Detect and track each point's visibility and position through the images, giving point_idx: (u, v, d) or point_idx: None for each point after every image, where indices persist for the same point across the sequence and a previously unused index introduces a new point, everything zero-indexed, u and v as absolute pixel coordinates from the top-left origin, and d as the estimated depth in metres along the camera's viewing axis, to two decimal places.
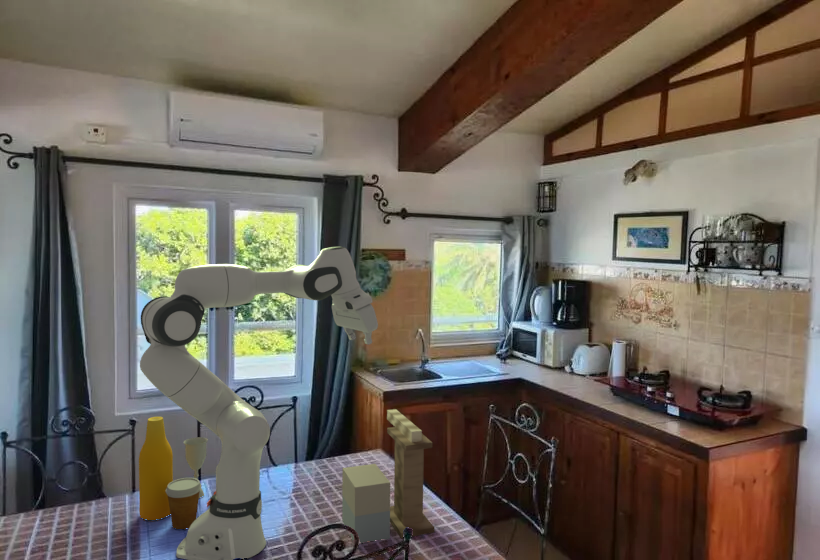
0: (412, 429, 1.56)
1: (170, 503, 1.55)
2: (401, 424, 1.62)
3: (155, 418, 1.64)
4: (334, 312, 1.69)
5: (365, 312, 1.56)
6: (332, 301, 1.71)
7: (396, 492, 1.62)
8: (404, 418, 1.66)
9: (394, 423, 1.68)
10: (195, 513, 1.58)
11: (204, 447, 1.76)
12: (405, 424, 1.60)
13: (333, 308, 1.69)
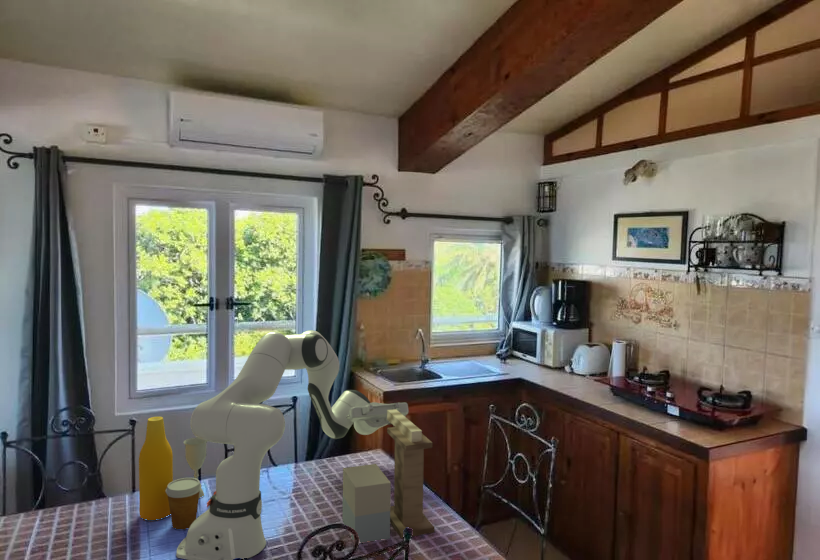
0: (412, 429, 1.56)
1: (170, 503, 1.55)
2: (401, 424, 1.62)
3: (155, 418, 1.64)
4: None
5: None
6: (347, 416, 1.89)
7: (396, 492, 1.62)
8: (404, 418, 1.66)
9: (394, 423, 1.68)
10: (195, 513, 1.58)
11: (204, 447, 1.76)
12: (405, 424, 1.60)
13: None
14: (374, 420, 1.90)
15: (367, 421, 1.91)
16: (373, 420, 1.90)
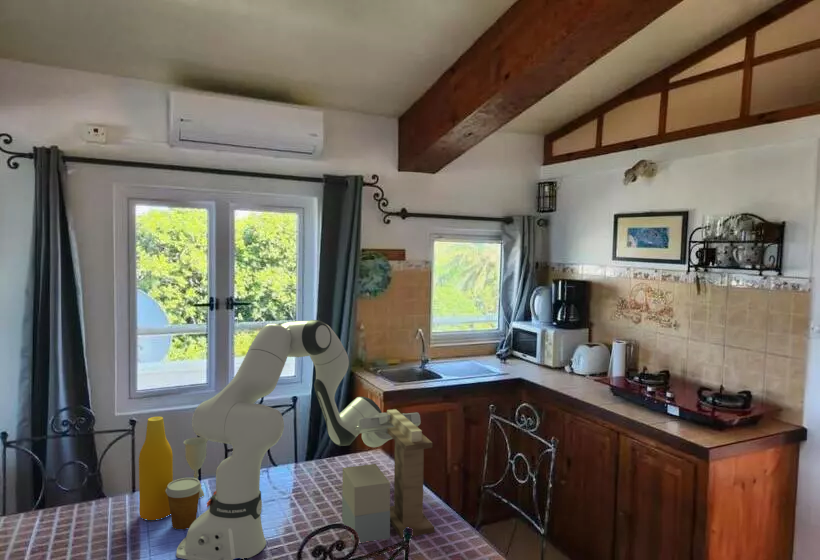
0: (412, 429, 1.56)
1: (170, 503, 1.55)
2: (401, 424, 1.62)
3: (155, 418, 1.64)
4: None
5: None
6: None
7: (396, 492, 1.62)
8: (404, 418, 1.66)
9: (394, 423, 1.68)
10: (195, 513, 1.58)
11: (204, 447, 1.76)
12: (405, 424, 1.60)
13: None
14: (384, 431, 1.79)
15: (377, 433, 1.79)
16: (383, 431, 1.78)
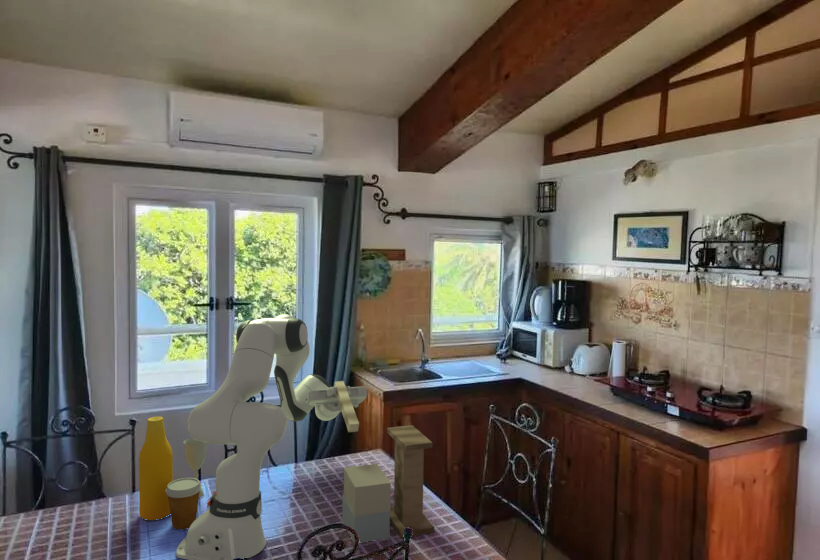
0: (351, 419, 1.69)
1: (170, 503, 1.55)
2: (343, 408, 1.74)
3: (155, 418, 1.64)
4: None
5: None
6: None
7: (396, 492, 1.62)
8: (347, 399, 1.78)
9: (338, 399, 1.80)
10: (195, 513, 1.58)
11: (204, 447, 1.76)
12: (346, 410, 1.73)
13: None
14: (332, 404, 1.90)
15: (326, 405, 1.91)
16: (331, 404, 1.90)
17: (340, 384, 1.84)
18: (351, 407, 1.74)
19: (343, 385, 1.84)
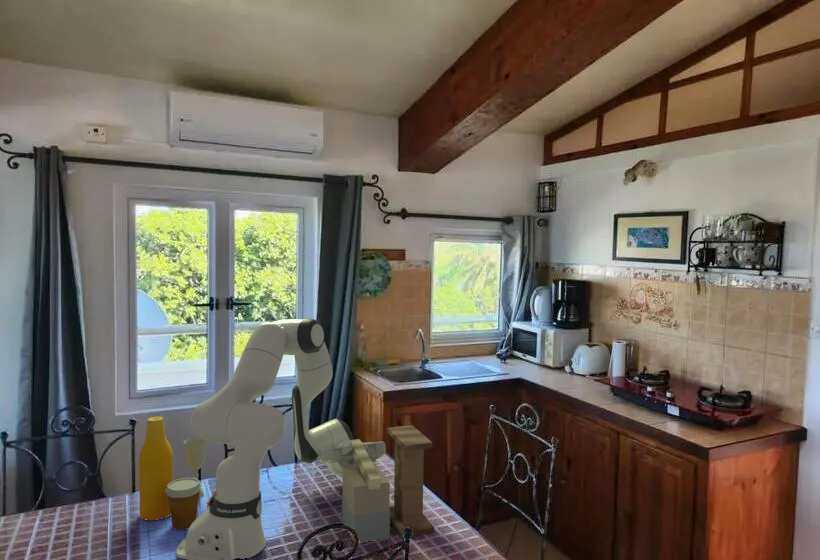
0: (371, 475, 1.49)
1: (170, 503, 1.55)
2: (361, 464, 1.55)
3: (155, 418, 1.64)
4: None
5: None
6: None
7: (396, 492, 1.62)
8: (365, 455, 1.59)
9: (355, 458, 1.61)
10: (195, 513, 1.58)
11: (204, 447, 1.76)
12: (365, 466, 1.53)
13: None
14: (348, 461, 1.71)
15: (340, 462, 1.72)
16: (346, 461, 1.71)
17: (356, 442, 1.66)
18: (370, 463, 1.55)
19: (360, 443, 1.65)
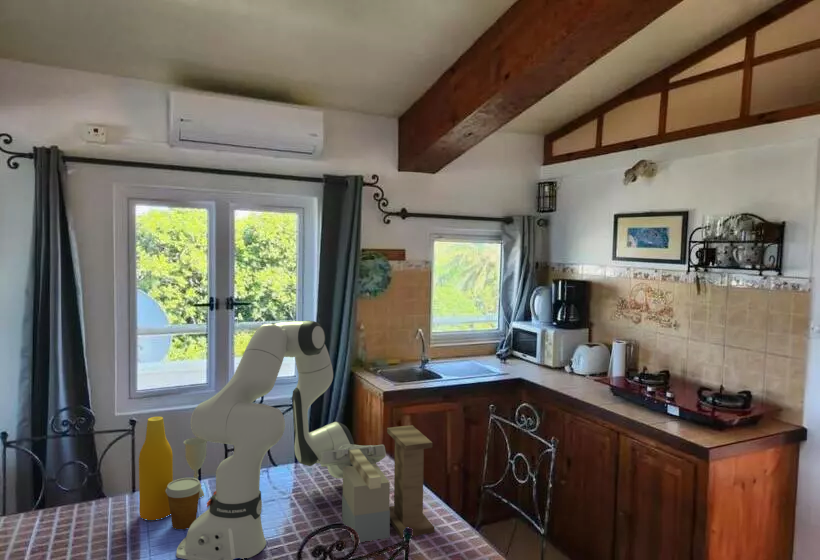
0: (371, 474, 1.49)
1: (170, 503, 1.55)
2: (361, 468, 1.55)
3: (155, 418, 1.64)
4: None
5: None
6: None
7: (396, 492, 1.62)
8: (365, 460, 1.59)
9: (355, 465, 1.61)
10: (195, 513, 1.58)
11: (204, 447, 1.76)
12: (365, 468, 1.53)
13: None
14: (347, 465, 1.71)
15: (340, 466, 1.72)
16: (346, 465, 1.71)
17: (355, 451, 1.66)
18: (370, 466, 1.55)
19: (359, 451, 1.66)
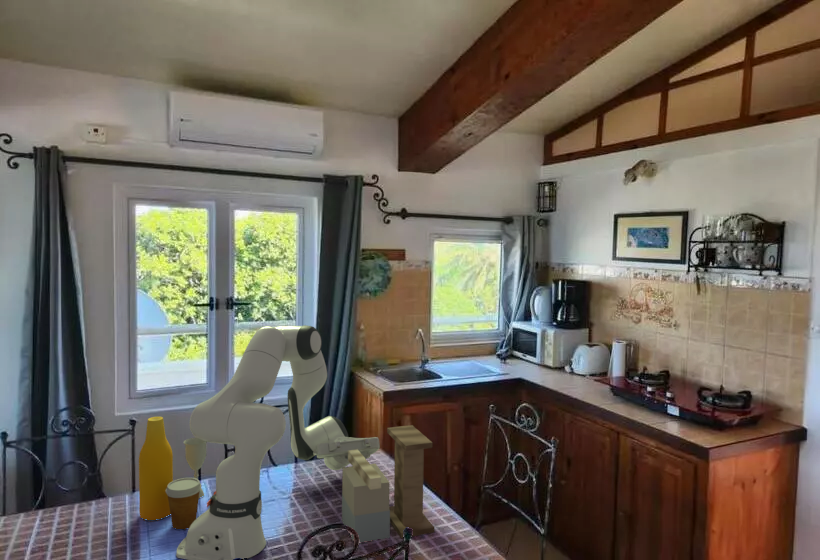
0: (371, 475, 1.49)
1: (170, 503, 1.55)
2: (361, 468, 1.54)
3: (155, 418, 1.64)
4: None
5: None
6: None
7: (396, 492, 1.62)
8: (364, 461, 1.59)
9: (354, 466, 1.60)
10: (195, 513, 1.58)
11: (204, 447, 1.76)
12: (365, 469, 1.53)
13: None
14: (343, 456, 1.78)
15: (335, 457, 1.78)
16: (342, 456, 1.77)
17: (354, 452, 1.66)
18: (370, 466, 1.55)
19: (358, 452, 1.65)
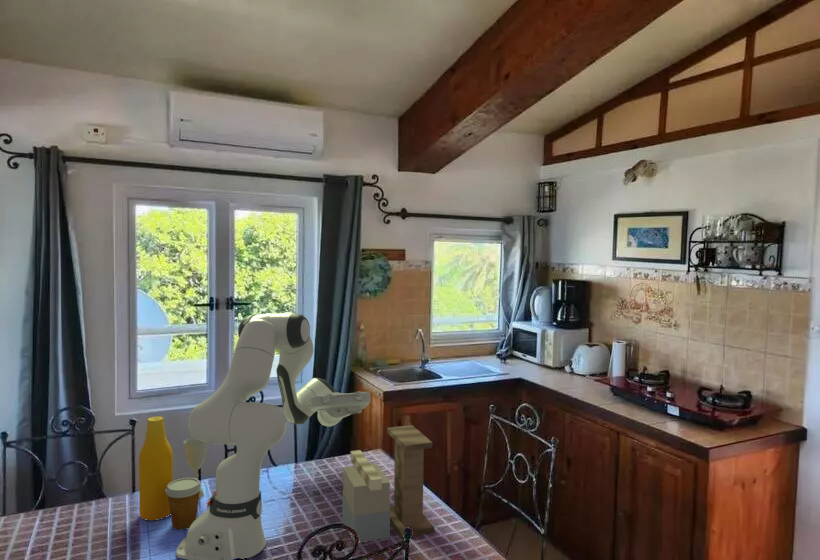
0: (372, 476, 1.48)
1: (170, 503, 1.55)
2: (362, 469, 1.54)
3: (155, 418, 1.64)
4: None
5: None
6: (307, 406, 1.86)
7: (396, 492, 1.62)
8: (366, 462, 1.58)
9: (356, 467, 1.60)
10: (195, 513, 1.58)
11: (204, 447, 1.76)
12: (366, 470, 1.52)
13: None
14: (335, 410, 1.86)
15: (328, 411, 1.87)
16: (334, 410, 1.86)
17: (357, 452, 1.65)
18: (371, 467, 1.54)
19: (360, 453, 1.65)
